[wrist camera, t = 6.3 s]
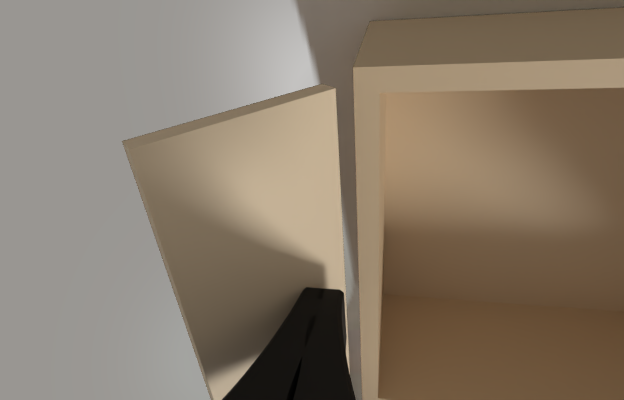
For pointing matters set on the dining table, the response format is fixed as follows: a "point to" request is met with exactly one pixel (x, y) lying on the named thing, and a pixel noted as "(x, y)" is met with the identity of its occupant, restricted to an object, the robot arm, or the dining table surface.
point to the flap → (245, 221)
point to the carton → (491, 206)
